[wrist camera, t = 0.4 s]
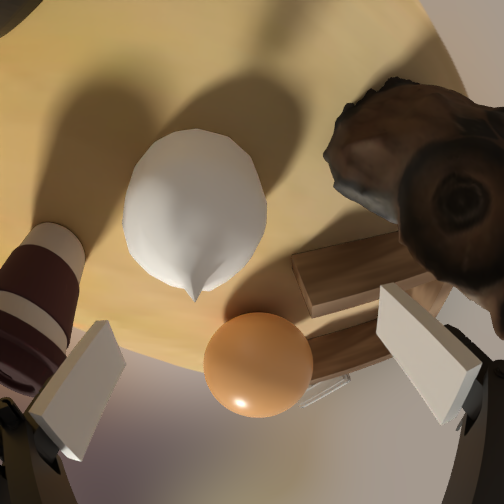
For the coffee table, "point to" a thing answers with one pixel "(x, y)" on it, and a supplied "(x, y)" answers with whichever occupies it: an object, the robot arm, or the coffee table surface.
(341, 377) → the cassette
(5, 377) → the coffee cup
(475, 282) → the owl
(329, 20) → the coffee table surface
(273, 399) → the ball
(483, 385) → the robot arm
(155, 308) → the coffee table surface
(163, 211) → the teardrop
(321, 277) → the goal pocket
